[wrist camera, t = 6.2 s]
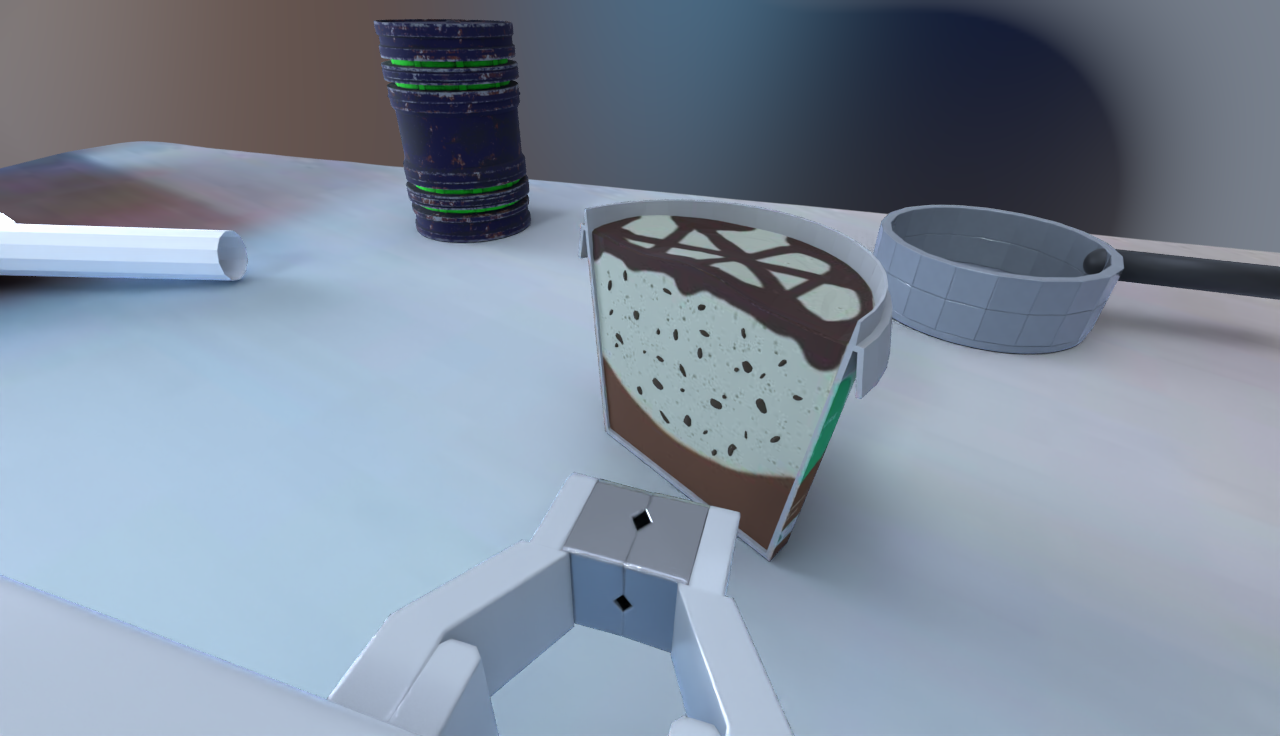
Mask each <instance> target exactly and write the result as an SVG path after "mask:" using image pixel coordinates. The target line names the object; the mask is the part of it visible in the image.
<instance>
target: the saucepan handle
mask: <svg viewBox="0 0 1280 736" xmlns="http://www.w3.org/2000/svg"><path fill="white" fill-rule="evenodd" d="M1115 250H1116V251H1117V252H1118V253H1119V254H1121V255H1122V256H1123V262H1124V270H1123V272H1122V273H1121V275H1120V277H1119V279H1118V281H1125V282H1134V283H1142V284H1151V285H1159V286H1168V287H1176V288H1185V289H1193V290H1202V291H1210V292H1219V293H1227V294H1236V295H1244V296H1253V297H1261V298H1270V299H1278V300H1280V267H1278V266H1268V265H1259V264H1250V263H1240V262H1231V261H1221V260H1212V259H1203V258H1193V257H1184V256H1174V255H1165V254H1155V253H1146V252H1137V251H1127V250H1118V249H1115ZM1106 259H1107V253H1106V249H1104V248H1101V249H1097V250H1094V251H1092V252H1090V253H1089V254H1088V255H1087V256H1086V257H1085V259H1084V261H1083V269H1084V271H1085V272H1086V273H1087V274H1088V275H1091V274H1097V273H1100V272H1102V270H1103V268H1104V266H1105V263H1106Z"/></svg>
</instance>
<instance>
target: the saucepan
mask: <svg viewBox="0 0 1280 736" xmlns="http://www.w3.org/2000/svg"><path fill="white" fill-rule="evenodd" d="M1101 248H1104V249H1106V253H1107V259H1106V263H1105V266H1104V268H1103V270H1102V272H1100V273H1097V274H1091V275H1088V274H1087V273H1086V272H1085V271H1084V269H1083V261H1084V259H1085V257H1086V256H1087V255H1088V254H1089V253H1090V252H1092V251H1094V250H1097V249H1101ZM873 255H874V256H875V257H876V258H877V259H878V260H879V261H880V263H881V265H882V266H883V268H884V270H885V272H886V274H887V280H888V291H889V293H890V295H891V301H892V308H893V310H892V318H894V319H896V320H897V321H899V322H901V323H903V324H905V325H907V326H909V327H911V328H913V329H915V330H918V331H920V332H923V333H925V334H928V335H931V336H934V337H936V338H939V339H942V340H946V341H949V342H953V343H956V344H960V345H964V346H969V347H973V348H978V349H984V350H990V351H997V352H1006V353H1020V354H1039V353H1051V352H1057V351H1062V350H1066V349H1069V348H1072V347H1074V346H1076V345H1078V344H1080V343H1081V342H1082V341H1083V340H1084V339H1085V338H1086V336H1087V334H1088V333H1089V332H1090V331H1091V330H1092V329H1093V327H1094V325H1095V323H1096V321H1097V319H1098V317H1099V315H1100V313H1101V311H1102V310H1103V308H1104V306H1105V304H1106V302H1107V300H1108V298H1109V296H1110V294H1111V292H1112V291H1113V289H1114V287H1115V285H1116V283H1117V281H1118V279H1119V277H1120V275H1121V273H1122V272H1123V270H1124V262H1123V256H1122V255H1121V254H1119V253H1118V252H1117V251H1116V250H1115V249H1114V248H1113V247H1112V246H1111V245H1109V244H1108V243H1106V242H1104V241H1102V240H1100V239H1098V238H1096V237H1094V236H1092V235H1090V234H1088V233H1086V232H1084V231H1081V230H1078V229H1075V228H1072V227H1069V226H1066V225H1063V224H1061V223H1058V222H1054V221H1049V220H1046V219H1042V218H1038V217H1034V216H1029V215H1026V214H1021V213H1015V212H1009V211H1004V210H998V209H992V208H991V209H990V208H983V207H972V206H962V205H959V206H958V205H926V206H915V207H907V208H903V209H900V210H897V211H894V212H891V213H889V214H888V215H887V216H886V217H885V218H884V219H883V220H882V221H881V225H880V228H879V232H878V236H877V240H876V244H875V248H874V252H873Z"/></svg>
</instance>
